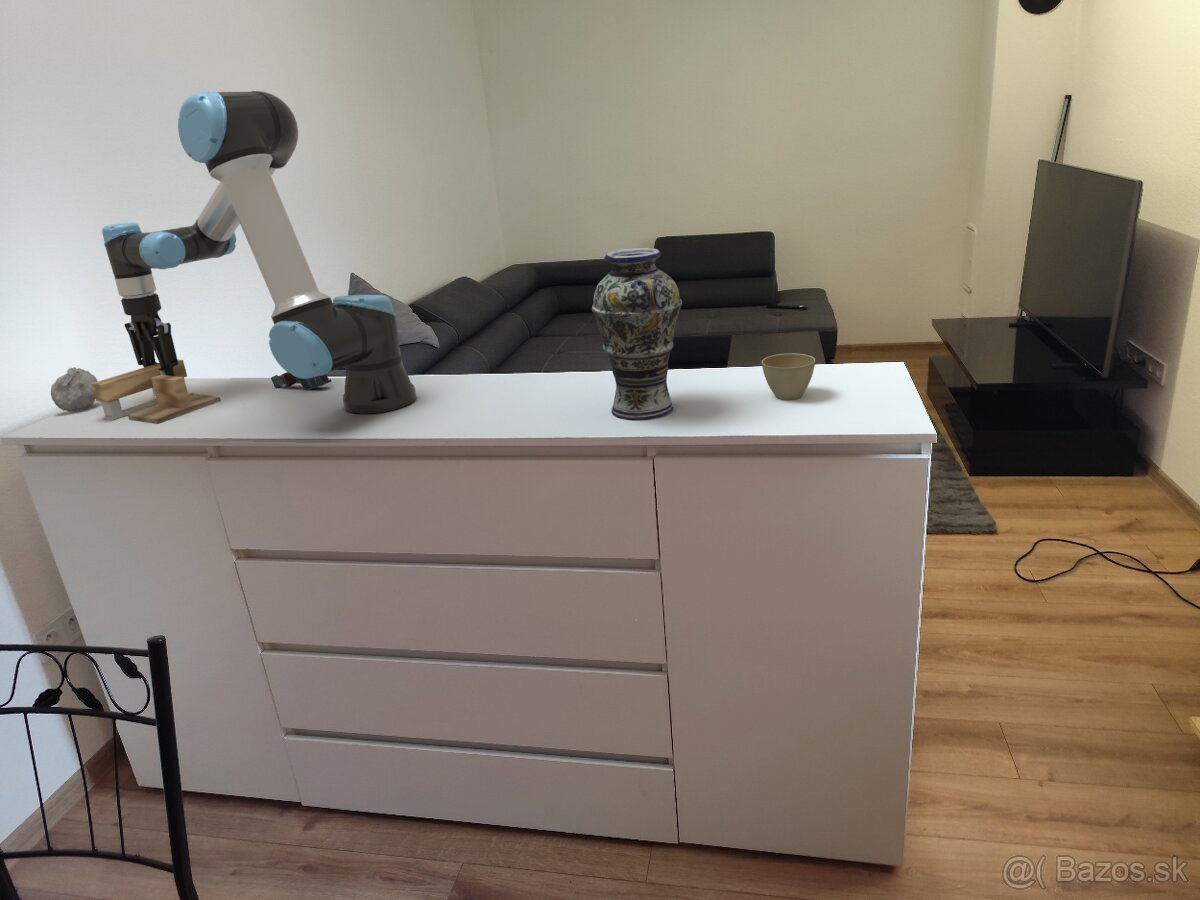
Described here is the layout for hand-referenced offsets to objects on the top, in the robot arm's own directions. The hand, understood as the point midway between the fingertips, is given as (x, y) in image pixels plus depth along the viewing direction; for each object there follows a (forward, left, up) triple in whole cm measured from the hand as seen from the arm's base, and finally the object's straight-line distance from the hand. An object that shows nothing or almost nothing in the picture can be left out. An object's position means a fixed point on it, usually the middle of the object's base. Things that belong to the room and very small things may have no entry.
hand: (166, 395), depth 198 cm
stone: (+15, +11, -1) cm, 19 cm away
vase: (-112, -23, -1) cm, 114 cm away
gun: (-27, -16, -1) cm, 31 cm away
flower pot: (-136, -38, -1) cm, 141 cm away
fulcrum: (-10, +5, -1) cm, 11 cm away
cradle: (0, +5, -1) cm, 5 cm away
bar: (0, +5, +3) cm, 6 cm away
